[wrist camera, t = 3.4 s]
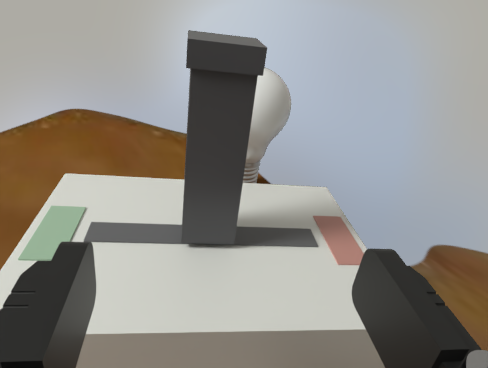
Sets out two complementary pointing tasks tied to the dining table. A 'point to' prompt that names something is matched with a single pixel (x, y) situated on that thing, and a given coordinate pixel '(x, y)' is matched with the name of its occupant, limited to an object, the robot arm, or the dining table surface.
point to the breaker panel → (207, 277)
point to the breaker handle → (218, 132)
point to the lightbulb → (266, 119)
